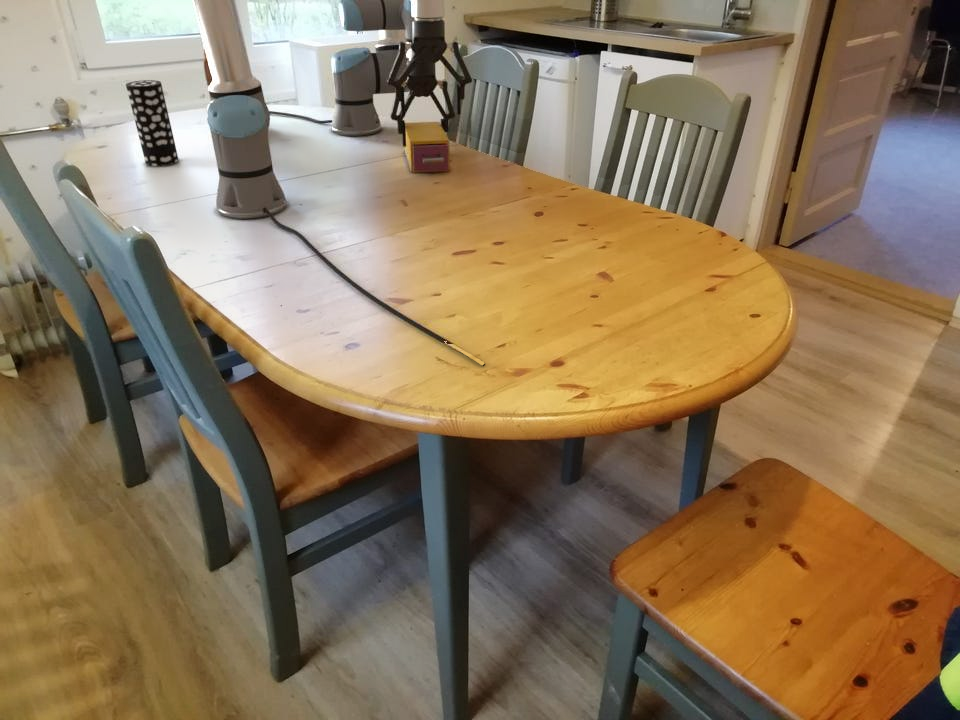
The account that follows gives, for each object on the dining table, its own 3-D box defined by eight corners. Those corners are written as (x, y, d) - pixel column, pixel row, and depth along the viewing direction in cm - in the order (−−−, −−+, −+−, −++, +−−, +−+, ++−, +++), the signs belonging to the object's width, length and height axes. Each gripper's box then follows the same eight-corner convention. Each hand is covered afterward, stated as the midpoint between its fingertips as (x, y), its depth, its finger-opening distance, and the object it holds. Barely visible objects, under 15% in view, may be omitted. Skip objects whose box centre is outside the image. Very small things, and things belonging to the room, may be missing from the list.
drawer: (451, 176, 176) (451, 151, 173) (416, 177, 175) (415, 153, 171) (439, 150, 196) (438, 127, 192) (407, 151, 194) (406, 129, 191)
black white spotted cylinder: (184, 157, 190) (167, 80, 179) (169, 166, 183) (151, 87, 172) (155, 156, 190) (136, 79, 179) (139, 165, 183) (119, 86, 172)
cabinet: (449, 170, 183) (449, 139, 178) (411, 172, 181) (410, 141, 177) (439, 150, 199) (439, 121, 194) (404, 152, 197) (403, 122, 193)
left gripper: (478, 16, 163) (477, 109, 175) (372, 17, 159) (378, 112, 171) (484, 20, 157) (483, 116, 168) (374, 21, 153) (380, 119, 165)
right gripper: (461, 55, 186) (461, 139, 198) (376, 57, 182) (382, 142, 194) (465, 60, 179) (465, 146, 191) (378, 62, 176) (383, 150, 188)
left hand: (430, 114), depth 170 cm, fingers open, 13 cm apart
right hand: (423, 144), depth 193 cm, fingers closed on cabinet, 10 cm apart
